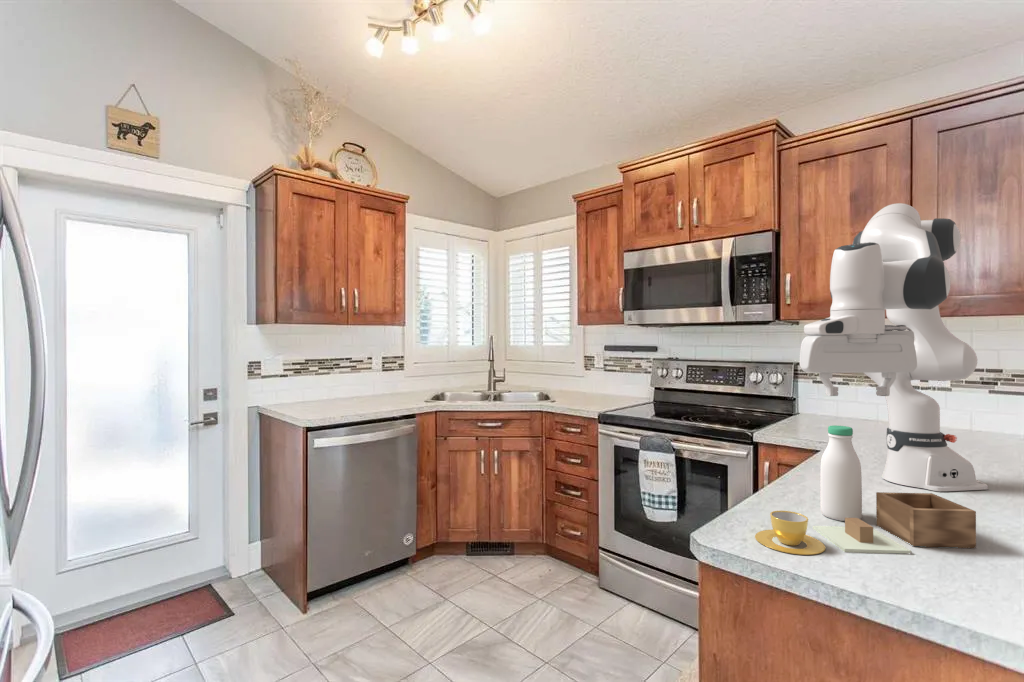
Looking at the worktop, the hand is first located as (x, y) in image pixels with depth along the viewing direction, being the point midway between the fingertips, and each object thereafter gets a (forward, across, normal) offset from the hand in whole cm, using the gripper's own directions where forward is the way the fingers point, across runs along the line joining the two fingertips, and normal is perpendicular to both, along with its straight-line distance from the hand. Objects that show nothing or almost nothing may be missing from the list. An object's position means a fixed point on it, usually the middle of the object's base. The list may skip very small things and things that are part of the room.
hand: (857, 395), depth 98 cm
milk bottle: (+29, -4, -14) cm, 32 cm away
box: (+28, -14, -3) cm, 32 cm away
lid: (+29, 0, 0) cm, 29 cm away
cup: (+29, +14, +2) cm, 32 cm away
